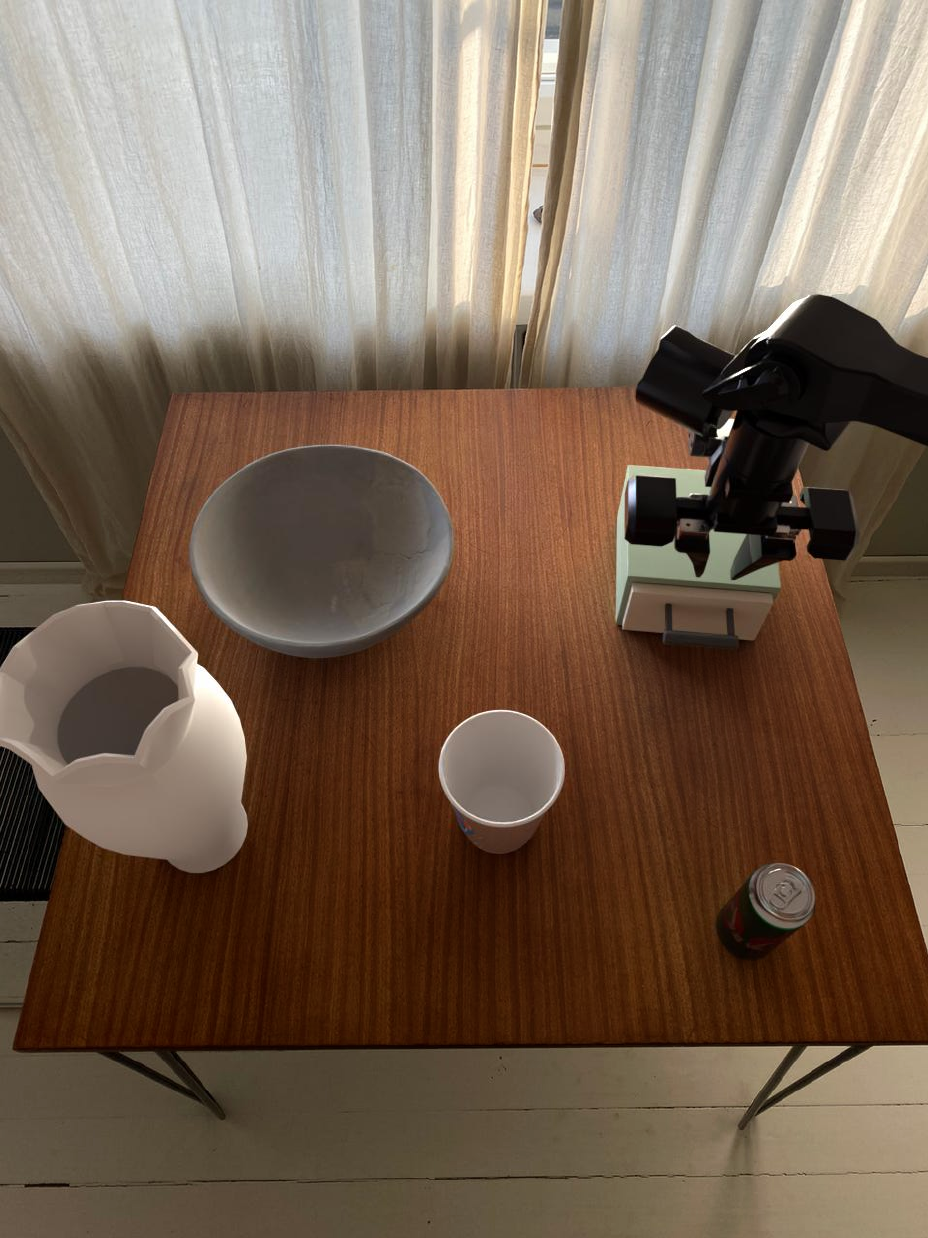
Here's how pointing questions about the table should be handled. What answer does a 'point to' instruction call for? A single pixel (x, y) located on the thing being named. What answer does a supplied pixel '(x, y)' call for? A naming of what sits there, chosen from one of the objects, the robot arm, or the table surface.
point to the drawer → (696, 614)
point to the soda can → (765, 911)
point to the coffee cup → (501, 777)
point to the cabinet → (677, 566)
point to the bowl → (321, 549)
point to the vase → (128, 734)
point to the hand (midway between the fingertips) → (714, 574)
